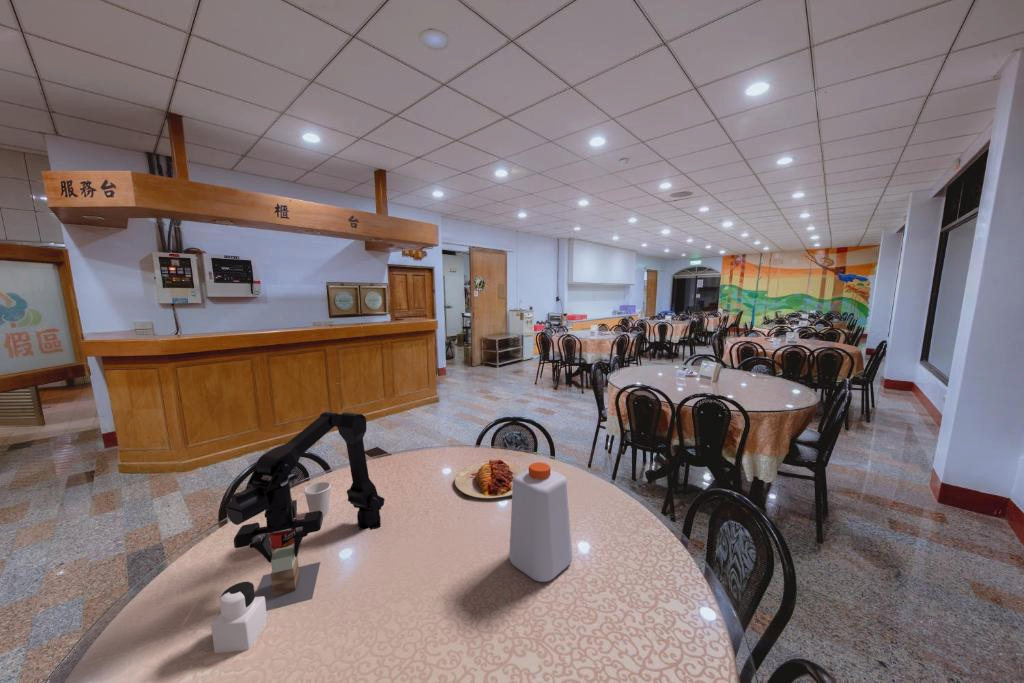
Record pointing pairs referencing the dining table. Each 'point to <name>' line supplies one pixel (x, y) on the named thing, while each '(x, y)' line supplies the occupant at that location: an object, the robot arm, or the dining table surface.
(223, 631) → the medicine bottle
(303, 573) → the plate
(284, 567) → the sage block
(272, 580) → the tower top
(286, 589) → the tower base
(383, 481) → the dining table surface
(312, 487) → the dixie cup
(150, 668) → the dining table surface
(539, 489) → the plastic bottle
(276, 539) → the canned food
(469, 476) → the plate of pasta
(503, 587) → the dining table surface
